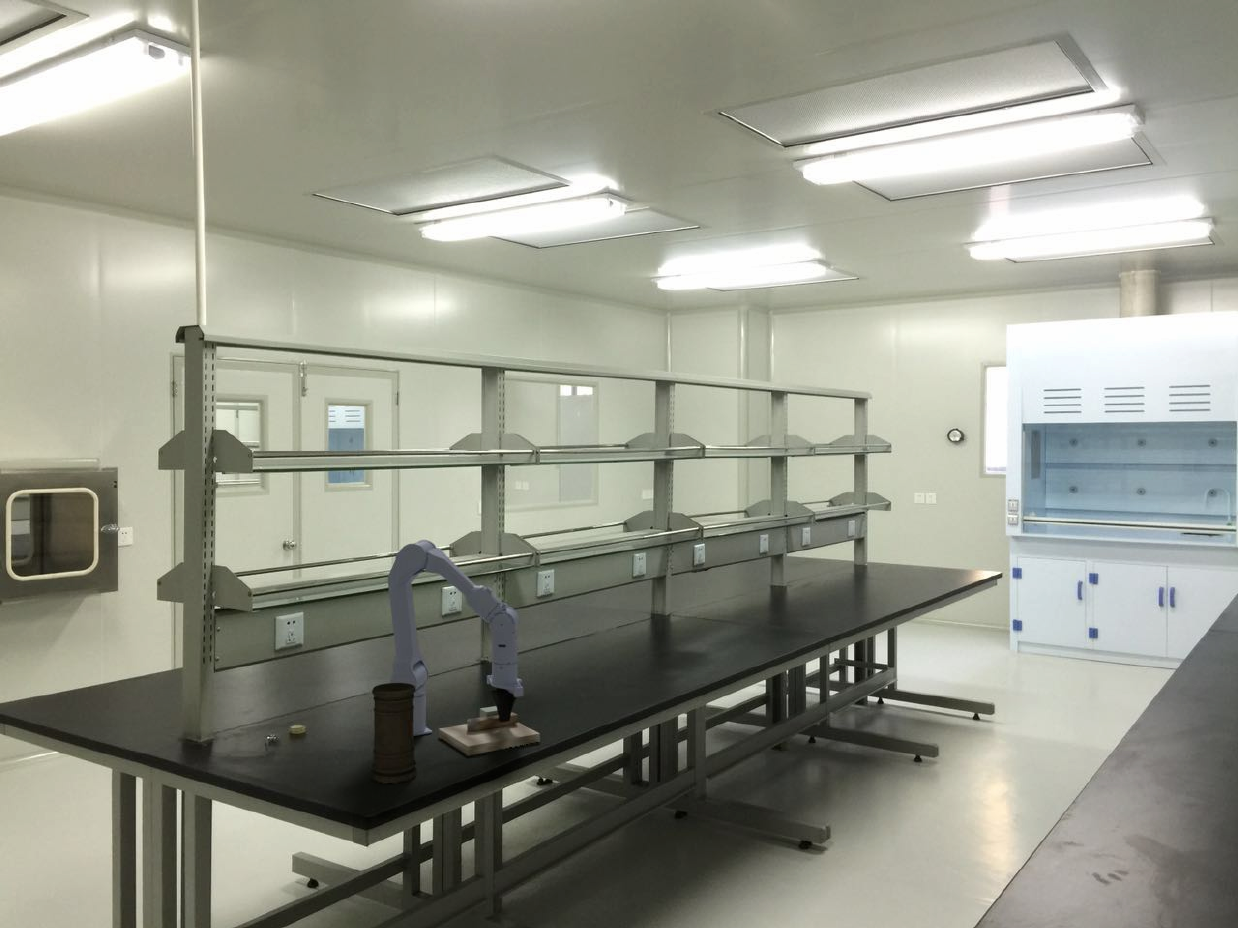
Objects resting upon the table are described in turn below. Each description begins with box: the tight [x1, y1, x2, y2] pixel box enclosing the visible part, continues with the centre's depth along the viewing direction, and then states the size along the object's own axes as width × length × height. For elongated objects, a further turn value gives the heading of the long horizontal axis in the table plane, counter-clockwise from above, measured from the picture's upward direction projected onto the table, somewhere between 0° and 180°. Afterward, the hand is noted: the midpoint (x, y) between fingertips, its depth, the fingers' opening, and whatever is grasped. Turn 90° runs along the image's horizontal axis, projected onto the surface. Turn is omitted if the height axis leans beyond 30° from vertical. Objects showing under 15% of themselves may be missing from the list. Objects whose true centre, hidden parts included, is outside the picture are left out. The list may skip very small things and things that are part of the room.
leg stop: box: [479, 705, 498, 718], centre depth 231 cm, size 6×4×3 cm, turn 124°
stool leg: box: [466, 711, 519, 731], centre depth 226 cm, size 12×3×2 cm, turn 124°
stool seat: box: [438, 722, 541, 756], centre depth 224 cm, size 18×16×2 cm
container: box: [370, 682, 417, 784], centre depth 199 cm, size 9×9×18 cm
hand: (504, 721), depth 226 cm, fingers closed
